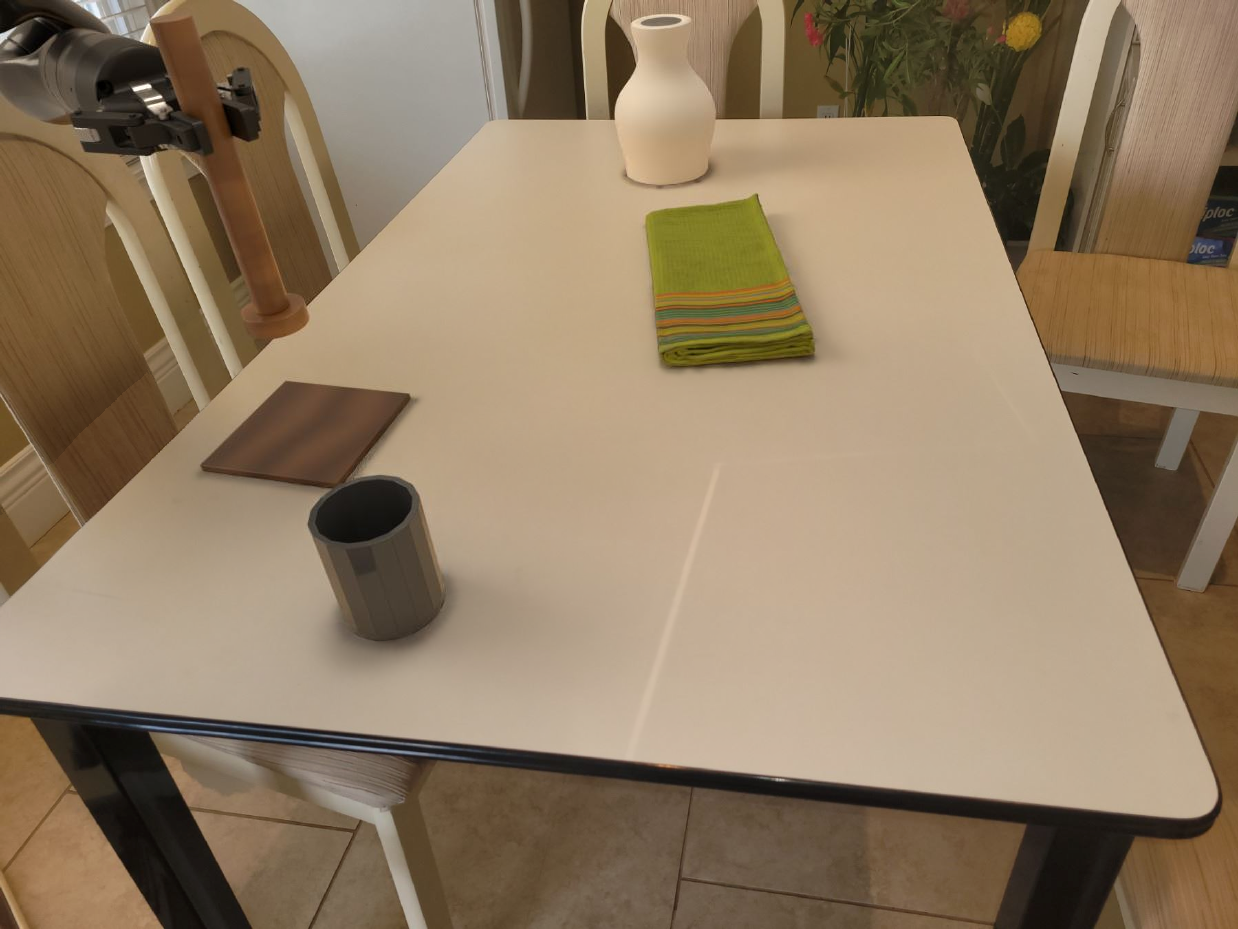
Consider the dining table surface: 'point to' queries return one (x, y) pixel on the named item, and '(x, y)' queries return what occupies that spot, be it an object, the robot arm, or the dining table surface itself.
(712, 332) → the dish towel
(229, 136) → the cylinder
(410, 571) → the holder
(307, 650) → the dining table surface
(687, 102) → the vase
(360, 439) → the board
